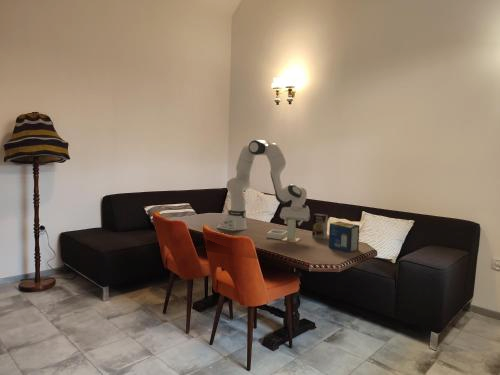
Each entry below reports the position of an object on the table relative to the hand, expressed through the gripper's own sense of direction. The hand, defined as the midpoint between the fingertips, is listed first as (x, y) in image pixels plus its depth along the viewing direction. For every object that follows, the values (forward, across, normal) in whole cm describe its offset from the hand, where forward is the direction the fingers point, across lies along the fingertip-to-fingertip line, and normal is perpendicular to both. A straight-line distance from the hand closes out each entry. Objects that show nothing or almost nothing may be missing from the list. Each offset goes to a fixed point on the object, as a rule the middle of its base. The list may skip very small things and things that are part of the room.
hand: (292, 224), depth 245 cm
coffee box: (-5, +15, +20) cm, 26 cm away
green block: (+8, 0, +6) cm, 10 cm away
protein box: (+11, +35, +4) cm, 37 cm away
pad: (+8, 0, +7) cm, 11 cm away
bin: (+5, -11, +10) cm, 16 cm away
